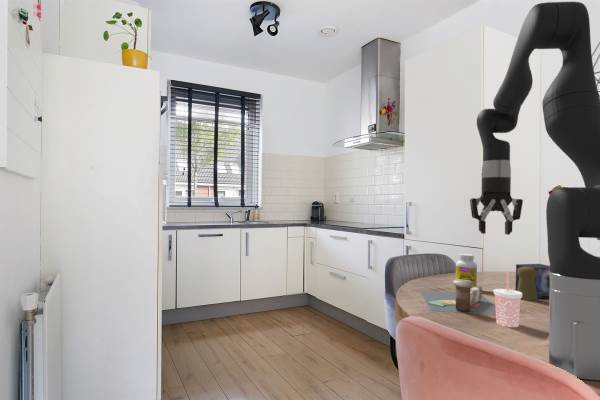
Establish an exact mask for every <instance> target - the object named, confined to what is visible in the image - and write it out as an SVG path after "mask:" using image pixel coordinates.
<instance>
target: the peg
mask: <svg viewBox="0 0 600 400" xmlns="http://www.w3.org/2000/svg"><path fill="white" fill-rule="evenodd" d="M453 286H455V292H456V309H457V310H460V311H470V306H471V305H473V304H474V303H476V302H477V301H479V300H481V299H482V295H483V287H482V286H479V285H476V286H475V287H473V282H472V281H470V280H463V279H456V278H455V279H453ZM470 287H473V288H471V289H470Z"/></svg>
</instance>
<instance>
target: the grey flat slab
mask: <svg viewBox="0 0 600 400" xmlns="http://www.w3.org/2000/svg"><path fill="white" fill-rule="evenodd" d="M419 292H420V293H421V295H422V297H423V299H424V301H425V303H426V305H427V306H428V308H429V310H430V311H432V312H445V313H459V314H474V315H485V316H486V315H487V316H496V308H495V303H493V302H491V301H490V300H489V299H487V298H486V296H484V295H483V294H482V299H481V300H479V301H477V302H476V303H474V304H473V305H471V306H470V311H460V310H457V309H456V291H455V292H454V291H442V290H441V291H439V290H438V291H437V290H426V289H425V290H424V289H423V290H421V289H420V290H419Z"/></svg>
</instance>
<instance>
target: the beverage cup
mask: <svg viewBox="0 0 600 400" xmlns="http://www.w3.org/2000/svg"><path fill="white" fill-rule="evenodd" d="M493 295H494V305H495V308H496V315H495V321H496V324H497V325H499V326H503V327H507V328H518V327H519V325H520V311H521V301H522V300H521V297H522V293H521V292H519V291H515V290H514V289H510V270H506V288H494V289H493Z"/></svg>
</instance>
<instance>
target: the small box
mask: <svg viewBox="0 0 600 400" xmlns="http://www.w3.org/2000/svg"><path fill="white" fill-rule="evenodd" d="M515 266H516V267H515V287H514V288H515V291H517V288H518V282H519V276H518V274H517V270H518V268H520V267H531V268H534V269H535V270H536V271H537V276H536V278H535V284H536V291H537V298H538V300H547V299H549V295H550V265H547V264H542V263H525V264H524V263H522V264H521V263H519V264H518V263H516V264H515Z"/></svg>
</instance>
